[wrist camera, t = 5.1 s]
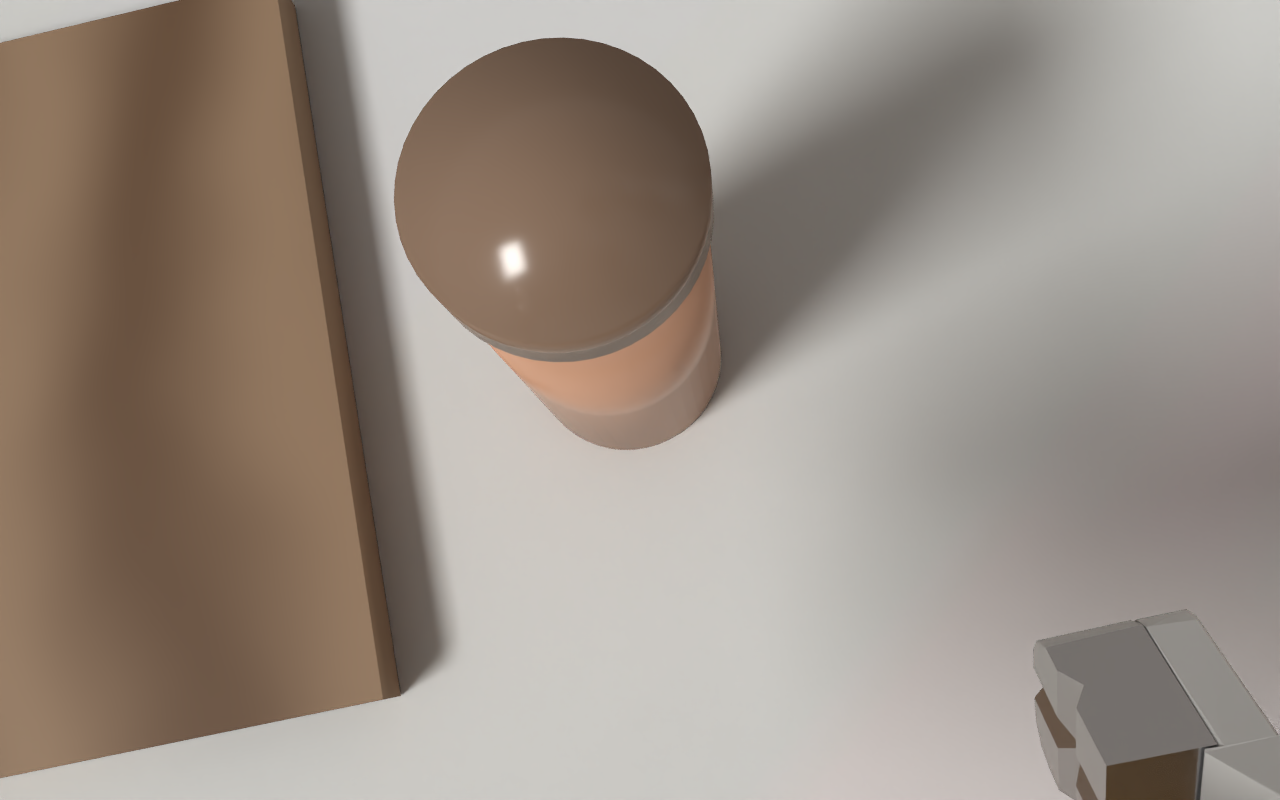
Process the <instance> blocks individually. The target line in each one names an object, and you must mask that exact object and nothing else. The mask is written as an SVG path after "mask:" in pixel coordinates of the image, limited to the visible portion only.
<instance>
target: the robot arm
mask: <svg viewBox="0 0 1280 800" xmlns="http://www.w3.org/2000/svg"><path fill="white" fill-rule="evenodd" d="M1033 665H1034V669H1035V672H1036V674H1037V676H1038V678H1039V680H1040V682H1041V684H1042V686H1043V688H1042V689H1041V690H1040V692H1039V693H1038V694H1037V695H1036V697H1035V713H1036V723H1037V728H1038V732H1039V737H1040V741H1041V746H1042V749H1043V752H1044V755H1045V757H1046V760H1047V763H1048V766H1049V769H1050V771H1051V773H1052V775H1053V778H1054V780H1055V782H1056V784H1057V787H1058V789H1059V790H1060V791H1061V792H1063V793H1065V794H1066V795H1068V796H1069V797H1071V798H1072V799H1074V800H1280V734H1279V735H1278V733H1277V732H1276V730H1275V729H1274V728H1273V726H1272V725H1271V723H1270V722H1269V720H1268V719H1267V717H1266V716H1265V715H1264V713H1263V712H1262V710H1261V709H1260V707H1259V706H1258V704H1257V703H1256V702H1255V700H1254V699H1253V697H1252V696H1251V694H1250V693H1249V691H1248V690H1247V689H1246V687H1245V686H1244V684H1243V683H1242V681H1241V680H1240V678H1239V677H1238V676H1237V674H1236V673H1235V671H1234V670H1233V668H1232V667H1231V665H1230V664H1229V663H1228V661H1227V660H1226V658H1225V657H1224V655H1223V654H1222V652H1221V651H1220V650H1219V648H1218V647H1217V645H1216V644H1215V642H1214V641H1213V639H1212V638H1211V637H1210V635H1209V634H1208V632H1207V631H1206V629H1205V628H1204V626H1203V625H1202V624H1201V622H1200V621H1199V619H1198V618H1197V616H1196V615H1194V614H1193V613H1191V612H1190V611H1188V610H1187V609H1185V610H1181V611H1176V612H1171V613H1166V614H1161V615H1157V616H1152V617H1147V618H1142V619H1137V620H1135V621H1131V620H1129V621H1125V622H1120V623H1116V624H1111V625H1107V626H1102V627H1097V628H1093V629H1088V630H1084V631H1079V632H1074V633H1070V634H1065V635H1061V636H1056V637H1051V638H1047V639H1042V640H1038V641H1036V643H1035V646H1034V649H1033Z"/></svg>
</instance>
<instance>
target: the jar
mask: <svg viewBox="0 0 1280 800" xmlns="http://www.w3.org/2000/svg"><path fill="white" fill-rule="evenodd" d="M394 206H395V216H396V223H397V227H398V231H399V236H400V240H401V242H402V245H403V247H404V250H405V253H406V255H407V258H408V260H409V261H410V263H411V265H412V267H413V268H414V270H415V272H416V274H417V275H418V277H419V278H420V279H421V281H422V282H423V283H424V285H425V286H426V287H427V289H428V290H429V291H430V292H431V293H432V294H433V295H434V296H435V297H436V299H437V300H438V301H439V302H440V303H441V304H442V305H443V306H444V307H445V308H446V309H447V310H448V311H449V312H450V313H451V314H452V315H453V316H454V317H455V318H456V319H457V320H458V321H459V322H460V323H461V324H462V325H463V326H464V327H465V328H466V329H467V330H469V331H470V332H471V333H473V334H474V335H475V336H477V337H478V338H479V339H481V340H483V341H484V342H486V343H488V344H489V345H490V346H491V347H492V348H493V349H494V350H495V352H496V353H497V354H498V355H499V356H500V357H501V358H502V359H503V360H504V361H505V362H506V363H507V365H508V366H509V367H510V368H511V369H512V370H513V371H514V372H515V373H516V374H517V375H518V377H519V378H520V379H521V380H522V381H523V382H524V383H525V384H526V385H527V386H528V387H529V389H530V390H531V391H532V392H533V393H534V394H535V395H536V396H537V397H538V398H539V399H540V400H541V402H542V403H543V404H544V405H545V406H546V407H547V408H548V409H549V410H550V411H551V412H552V414H553V415H554V416H555V417H556V418H557V419H558V420H559V421H560V422H561V423H562V424H563V425H564V426H565V427H566V428H567V429H569V430H570V431H571V432H573V433H574V434H575V435H577V436H579V437H580V438H582V439H584V440H586V441H588V442H591V443H593V444H596V445H598V446H602V447H606V448H611V449H620V450H634V449H641V448H647V447H651V446H654V445H658V444H660V443H663V442H665V441H667V440H670V439H671V438H673V437H675V436H676V435H678V434H680V433H681V432H683V431H684V430H685V429H686V428H688V427H689V426H690V425H691V424H692V423H693V422H694V421H695V420H696V419H697V418H698V417H699V416H700V415H701V413H702V412H703V411H704V409H705V408H706V406H707V405H708V403H709V401H710V399H711V398H712V396H713V393H714V391H715V388H716V386H717V383H718V379H719V375H720V368H721V343H720V333H719V324H718V314H717V304H716V294H715V284H714V274H713V264H712V254H711V245H710V244H711V240H712V232H713V223H714V205H713V191H712V179H711V169H710V162H709V156H708V150H707V146H706V143H705V140H704V136H703V133H702V130H701V128H700V126H699V124H698V122H697V120H696V117H695V115H694V113H693V112H692V110H691V109H690V107H689V105H688V104H687V102H686V101H685V99H684V98H683V96H682V95H681V94H680V93H679V92H678V91H677V89H676V88H675V87H674V86H673V85H672V84H671V82H669V81H668V80H667V79H666V78H665V77H664V76H663V75H662V74H660V73H659V72H658V71H657V70H656V69H654V68H653V67H651V66H650V65H648V64H647V63H645V62H644V61H642V60H641V59H639V58H638V57H636V56H633V55H631V54H629V53H627V52H625V51H623V50H621V49H618V48H615V47H612V46H609V45H606V44H604V43H599V42H594V41H589V40H584V39H574V38H545V39H537V40H532V41H526V42H521V43H518V44H514V45H511V46H507V47H504V48H501V49H499V50H497V51H494V52H492V53H490V54H488V55H485V56H483V57H482V58H480V59H478V60H476V61H475V62H473V63H471V64H470V65H468V66H466V67H465V68H464V69H462V70H461V71H460V72H458V73H457V74H456V75H454V76H453V77H452V78H450V79H449V80H448V81H447V82H446V83H445V84H444V85H443V86H442V87H441V88H440V89H439V90H438V91H437V92H436V93H435V94H434V95H433V97H432V98H431V99H430V100H429V102H428V103H427V104H426V105H425V106H424V108H423V109H422V111H421V112H420V114H419V116H418V117H417V119H416V120H415V122H414V124H413V125H412V127H411V130H410V132H409V134H408V136H407V138H406V140H405V143H404V145H403V149H402V152H401V155H400V158H399V161H398V166H397V172H396V178H395V191H394Z"/></svg>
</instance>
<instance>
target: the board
mask: <svg viewBox="0 0 1280 800" xmlns="http://www.w3.org/2000/svg"><path fill="white" fill-rule="evenodd" d="M397 696H401V695H400V688H399V682H398V675H397V669H396V662H395V656H394V649H393V642H392V636H391V629H390V623H389V616H388V610H387V603H386V597H385V590H384V584H383V577H382V571H381V564H380V558H379V551H378V545H377V538H376V532H375V525H374V519H373V512H372V506H371V499H370V493H369V486H368V480H367V473H366V467H365V460H364V454H363V447H362V441H361V434H360V428H359V421H358V414H357V408H356V401H355V395H354V388H353V382H352V375H351V369H350V362H349V356H348V349H347V343H346V336H345V330H344V323H343V317H342V310H341V304H340V297H339V291H338V284H337V278H336V271H335V265H334V258H333V252H332V245H331V239H330V232H329V226H328V219H327V213H326V206H325V199H324V193H323V186H322V180H321V173H320V167H319V160H318V154H317V147H316V141H315V134H314V128H313V121H312V115H311V108H310V102H309V95H308V89H307V82H306V76H305V69H304V63H303V56H302V50H301V43H300V37H299V30H298V24H297V17H296V11H295V5H294V4H293V2H292V1H291V0H179V1H174V2H170V3H166V4H162V5H158V6H153V7H149V8H145V9H141V10H137V11H132V12H128V13H124V14H120V15H116V16H111V17H107V18H103V19H99V20H95V21H90V22H86V23H82V24H78V25H74V26H69V27H65V28H61V29H57V30H53V31H48V32H44V33H40V34H36V35H32V36H27V37H23V38H19V39H15V40H11V41H6V42H2V43H0V778H3V777H8V776H13V775H18V774H22V773H27V772H32V771H37V770H42V769H47V768H52V767H57V766H61V765H66V764H71V763H76V762H81V761H86V760H91V759H96V758H100V757H105V756H110V755H115V754H120V753H125V752H130V751H134V750H139V749H144V748H149V747H154V746H159V745H164V744H169V743H173V742H178V741H183V740H188V739H193V738H198V737H203V736H208V735H212V734H217V733H222V732H227V731H232V730H237V729H242V728H246V727H251V726H256V725H261V724H266V723H271V722H276V721H281V720H285V719H290V718H295V717H300V716H305V715H310V714H315V713H320V712H324V711H329V710H334V709H339V708H344V707H349V706H354V705H359V704H363V703H368V702H373V701H378V700H383V699H388V698H393V697H397Z"/></svg>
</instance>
